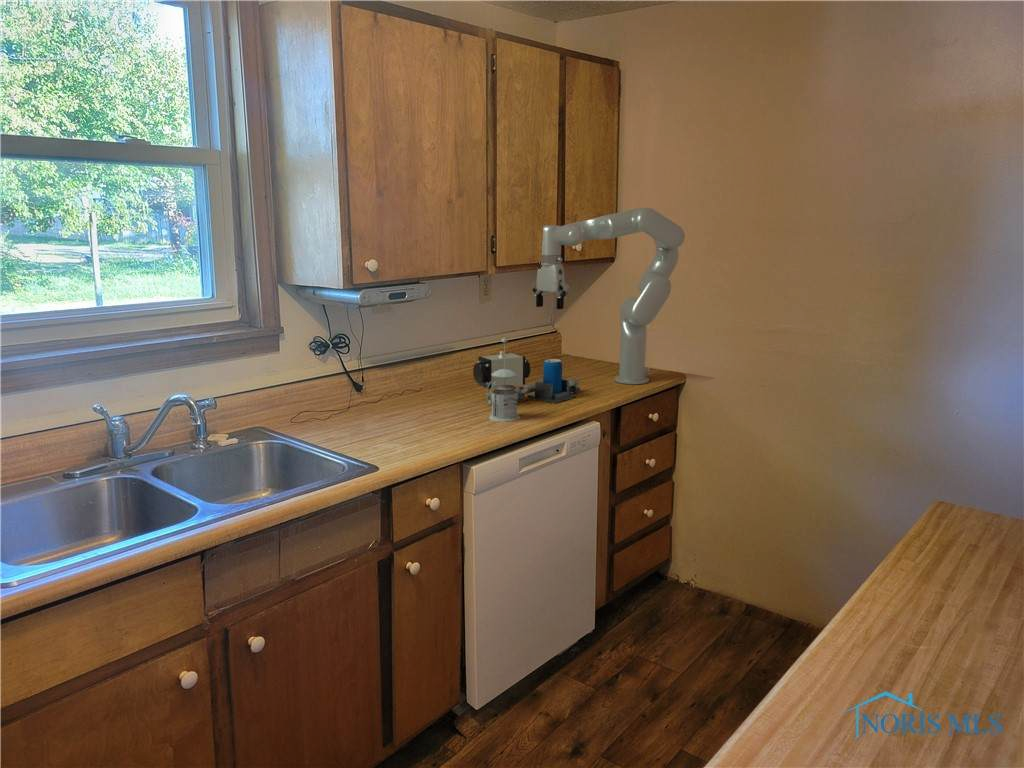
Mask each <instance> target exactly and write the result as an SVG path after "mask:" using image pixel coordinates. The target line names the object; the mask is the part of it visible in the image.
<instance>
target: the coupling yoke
mask: <svg viewBox="0 0 1024 768" xmlns="http://www.w3.org/2000/svg"><path fill="white" fill-rule="evenodd" d="M578 385H579V380H578V379H576V378H572V379H568V378H567V379H565V378H562V392H560V393H556V394H554V396H553V384H551V383H546V382H543V381H540V380H535V382H534V384H533V383H532V384H528V385H527V384H525V385H521V386H519V387H516V389H515V391H517V399H516V400H517V402H519V401H520V402H521V401H522V402H524V401H523V400H525V401H526V398H527V399H532V400H535V399H536V400H537V401H540V400H541V401H540V402H544V401H546V402H545V403H549V402H551V403H550V404H553V403H555V404H557V403H556V402H558V403H561V402H560V401H562V402H564V401H563V400H566V401H568V400H567V399H569V400H571V399H570V398H573V399H575V398H574V397H576V398H577V394H579V393H578V392H581V388H580V387H578ZM570 392H573V393H570ZM575 393H576V394H575ZM526 396H527V397H526ZM536 400H535V401H536Z"/></svg>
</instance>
